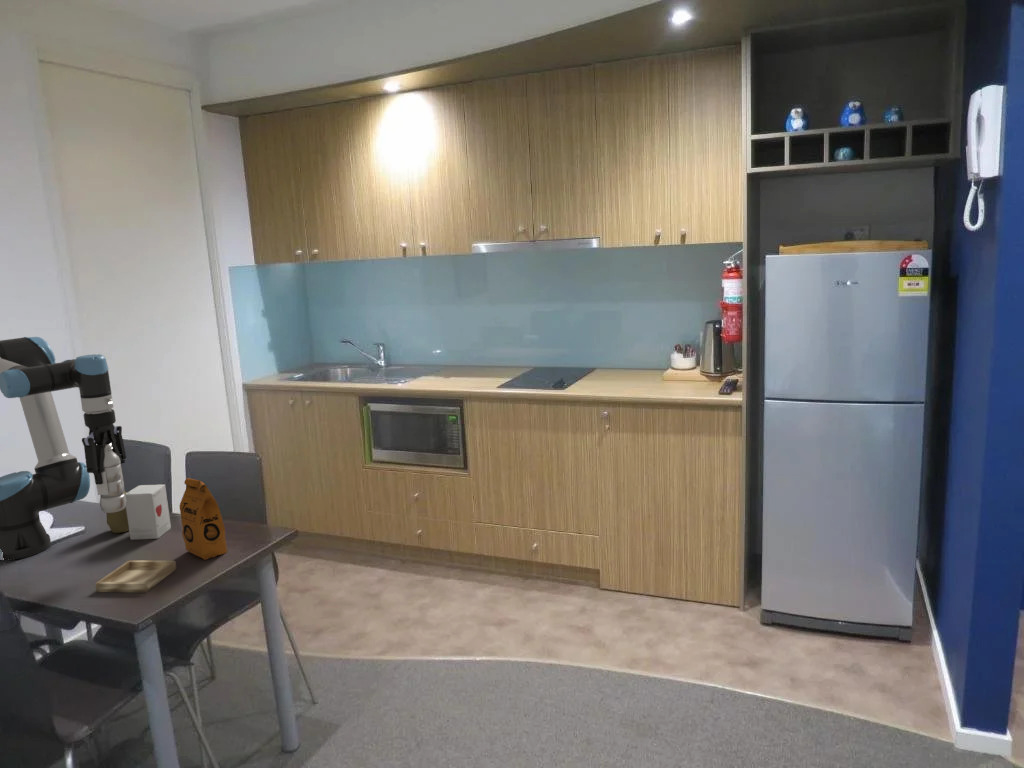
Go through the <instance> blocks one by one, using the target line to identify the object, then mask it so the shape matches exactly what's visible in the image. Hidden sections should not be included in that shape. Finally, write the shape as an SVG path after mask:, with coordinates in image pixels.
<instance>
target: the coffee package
mask: <svg viewBox="0 0 1024 768" xmlns="http://www.w3.org/2000/svg"><path fill="white" fill-rule="evenodd" d="M184 485H186V487H185V491H184V492H183V495H182V498H181V500H180V503H179V511H180V519H181V520H180V521H181V522H180V523H181V526H182V527H181V528H182V530H181V531H182V534H181V535H182V538H183V541H184V545H185V551H187V552H189V553H191V554H193V555H195V557H196V556H197V557H199V558H201V559H203V560H204V561H206V559H207V560H208V559H211V557H213V558H215V557H217V555H218V556H220V555H223V554H226V553H228V548H227V541H226V528H225V525H224V521H223V517H222V514H221V510H220V507H219V505H218V502H217V501H216V498H215V497H214V495H213V494H212V493H211V491H210V489H209V488H208V486H207V485H206V484H205V483H204V482H203V481H201V480H198V479H194V478H189V477H188V478H186V479H185V480H184Z"/></svg>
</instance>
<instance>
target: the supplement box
mask: <svg viewBox="0 0 1024 768" xmlns="http://www.w3.org/2000/svg"><path fill="white" fill-rule="evenodd" d="M125 497H126V500H127V502H126V511H127V518H128V525H129V531H128V532H129V537H130V540H133V541H134V540H157V539H159V538H161V537H162V536H163V535H164V534H166V533H167V532H168V531H169V530H171V528H172V525H171V518H170V517H171V516H170V510H169V503H168V498H167V497H168V495H167V489H166V484H141V485H140V484H139V485H137V486H136V487H134V488H132V489H131V490H129V491H128V492H127V493H126V494H125Z"/></svg>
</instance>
